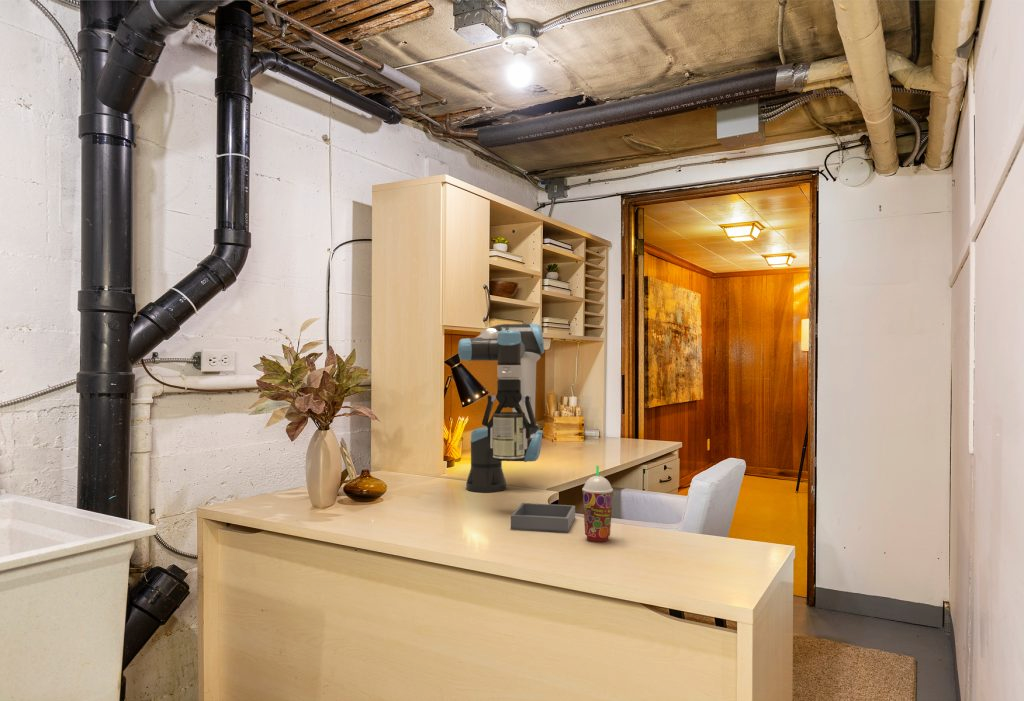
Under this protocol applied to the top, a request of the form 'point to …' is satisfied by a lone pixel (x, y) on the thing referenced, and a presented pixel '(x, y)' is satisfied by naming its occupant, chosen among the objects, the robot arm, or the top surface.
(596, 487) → the smoothie
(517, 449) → the coffee can
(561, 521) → the bin
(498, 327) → the robot arm
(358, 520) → the top surface
